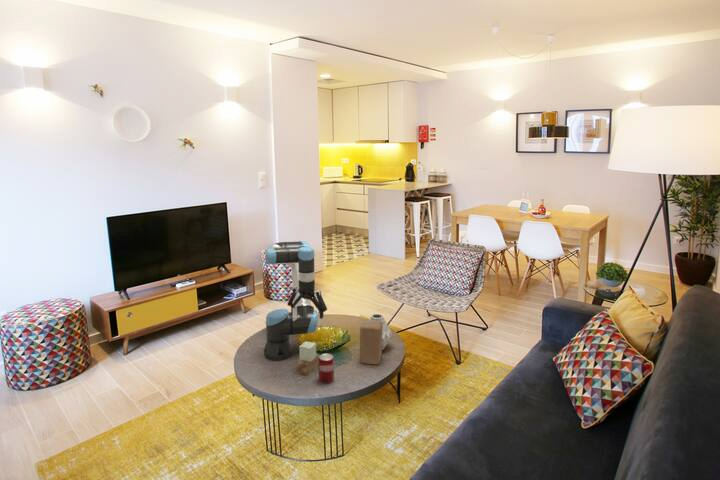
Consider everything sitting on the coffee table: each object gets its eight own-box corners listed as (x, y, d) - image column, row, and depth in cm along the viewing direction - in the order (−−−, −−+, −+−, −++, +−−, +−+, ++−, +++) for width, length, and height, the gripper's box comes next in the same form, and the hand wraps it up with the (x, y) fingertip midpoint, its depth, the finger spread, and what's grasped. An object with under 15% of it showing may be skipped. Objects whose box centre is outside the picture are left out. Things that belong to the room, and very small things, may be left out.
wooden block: (378, 365, 233) (379, 328, 228) (359, 363, 235) (359, 326, 230) (381, 356, 242) (382, 320, 238) (363, 354, 244) (363, 319, 240)
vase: (359, 353, 245) (359, 320, 241) (364, 340, 261) (364, 309, 257) (390, 356, 243) (390, 323, 238) (393, 342, 258) (393, 311, 254)
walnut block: (298, 373, 224) (297, 362, 223) (310, 362, 235) (309, 352, 234) (307, 376, 223) (306, 364, 221) (318, 364, 233) (318, 353, 232)
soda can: (318, 376, 222) (318, 353, 219) (333, 376, 222) (333, 353, 220) (318, 384, 215) (318, 360, 212) (334, 384, 215) (334, 360, 213)
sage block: (299, 359, 226) (299, 346, 224) (305, 354, 231) (305, 341, 230) (310, 361, 224) (310, 348, 222) (316, 356, 229) (316, 343, 228)
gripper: (279, 278, 220) (280, 320, 224) (326, 285, 210) (327, 329, 215) (287, 274, 226) (288, 315, 231) (334, 281, 217) (334, 323, 222)
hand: (307, 322), depth 223 cm, fingers open, 13 cm apart
